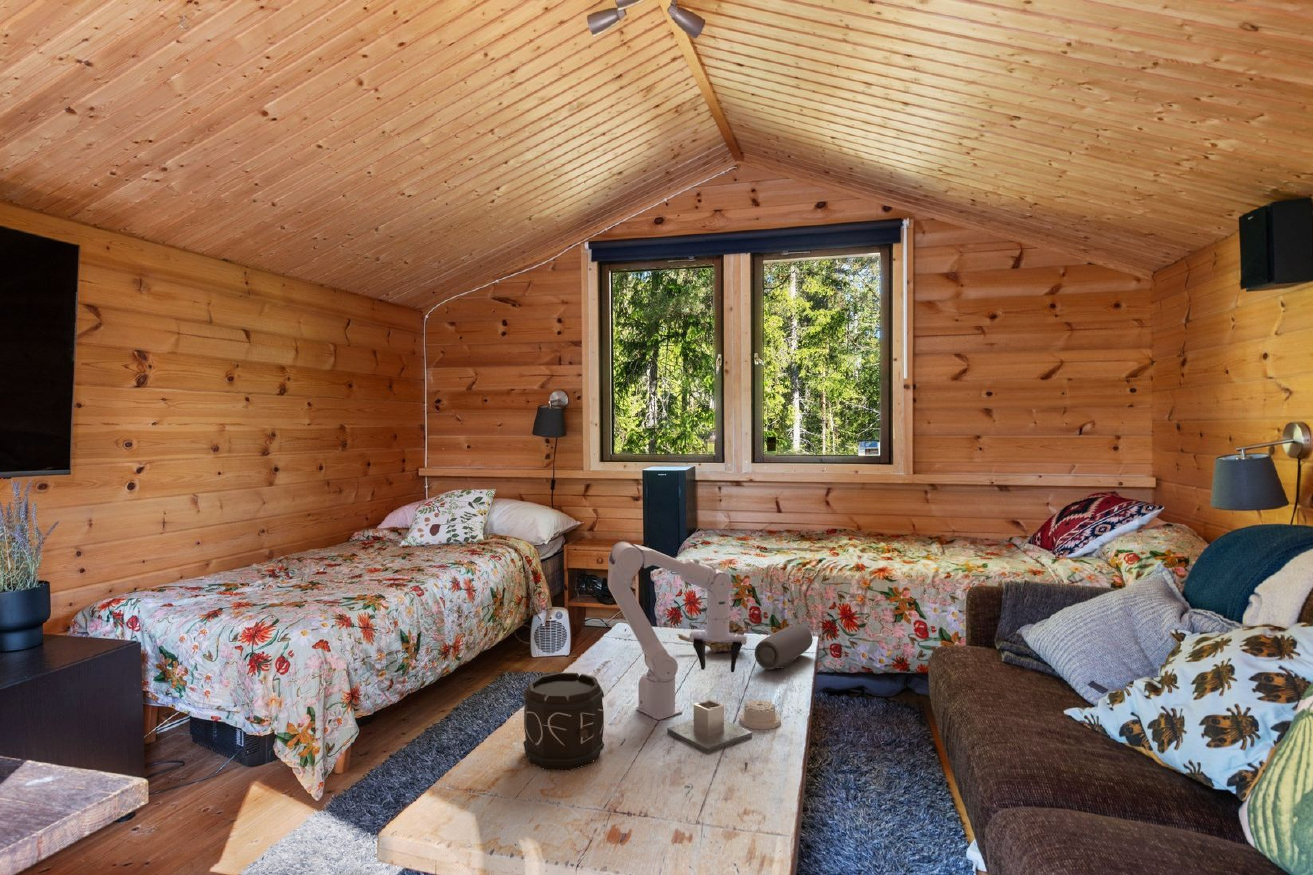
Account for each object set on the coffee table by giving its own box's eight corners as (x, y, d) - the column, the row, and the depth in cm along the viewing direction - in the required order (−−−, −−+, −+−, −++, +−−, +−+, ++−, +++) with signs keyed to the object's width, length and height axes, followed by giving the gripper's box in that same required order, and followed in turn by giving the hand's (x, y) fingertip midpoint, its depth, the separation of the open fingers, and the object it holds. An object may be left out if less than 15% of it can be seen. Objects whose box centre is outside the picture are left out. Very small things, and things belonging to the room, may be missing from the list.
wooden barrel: (543, 782, 155) (542, 705, 155) (510, 749, 170) (510, 679, 170) (620, 760, 165) (620, 688, 164) (582, 732, 180) (582, 665, 180)
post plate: (667, 733, 179) (667, 715, 179) (711, 718, 188) (711, 701, 188) (707, 753, 168) (707, 734, 168) (752, 737, 177) (752, 719, 177)
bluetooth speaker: (786, 651, 243) (787, 620, 243) (814, 656, 238) (814, 624, 237) (752, 670, 225) (752, 636, 224) (781, 676, 219) (781, 641, 219)
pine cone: (741, 646, 249) (741, 615, 248) (749, 655, 239) (749, 623, 239) (674, 649, 245) (674, 618, 245) (679, 658, 236) (679, 626, 236)
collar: (693, 729, 178) (693, 704, 178) (709, 724, 181) (709, 699, 181) (708, 736, 174) (708, 710, 174) (723, 730, 178) (724, 705, 177)
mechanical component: (737, 729, 182) (780, 732, 181) (737, 710, 182) (780, 713, 180) (740, 713, 192) (780, 715, 190) (740, 695, 192) (780, 698, 190)
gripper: (687, 619, 194) (687, 672, 194) (744, 623, 190) (743, 677, 190) (692, 612, 200) (692, 663, 201) (747, 615, 197) (747, 668, 197)
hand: (717, 669), depth 196 cm, fingers open, 7 cm apart
